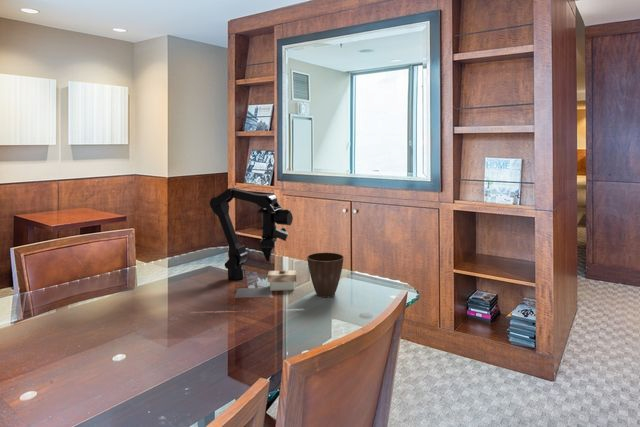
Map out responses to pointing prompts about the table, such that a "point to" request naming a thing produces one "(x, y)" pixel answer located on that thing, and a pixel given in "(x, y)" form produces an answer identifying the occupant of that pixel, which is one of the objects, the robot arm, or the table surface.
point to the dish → (281, 286)
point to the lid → (282, 276)
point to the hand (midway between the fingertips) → (268, 258)
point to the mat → (252, 292)
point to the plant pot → (325, 272)
